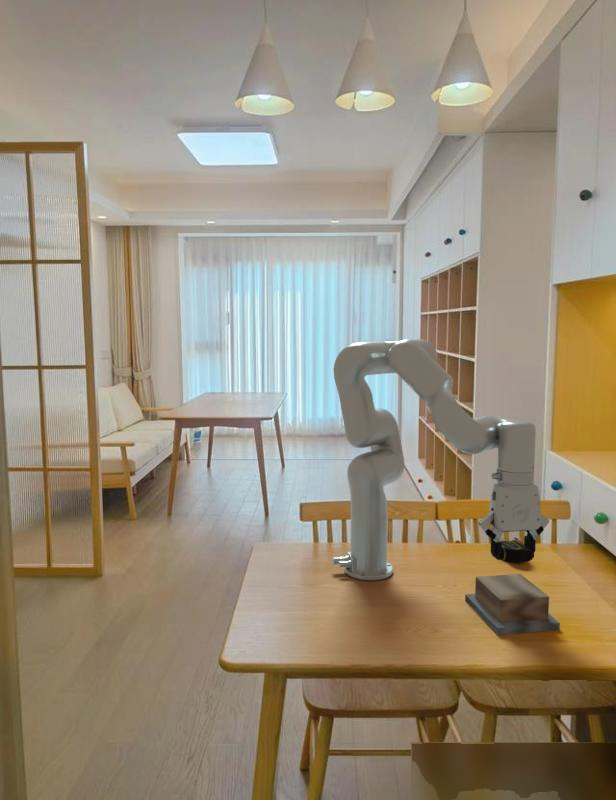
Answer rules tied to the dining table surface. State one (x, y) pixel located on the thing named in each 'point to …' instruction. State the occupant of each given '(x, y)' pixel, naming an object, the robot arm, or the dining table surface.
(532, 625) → the plinth
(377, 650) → the dining table surface
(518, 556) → the tape measure
